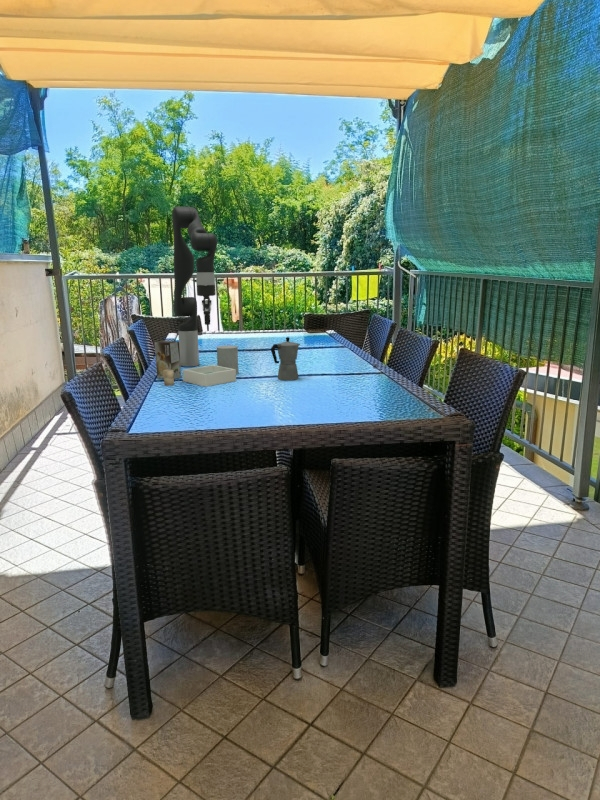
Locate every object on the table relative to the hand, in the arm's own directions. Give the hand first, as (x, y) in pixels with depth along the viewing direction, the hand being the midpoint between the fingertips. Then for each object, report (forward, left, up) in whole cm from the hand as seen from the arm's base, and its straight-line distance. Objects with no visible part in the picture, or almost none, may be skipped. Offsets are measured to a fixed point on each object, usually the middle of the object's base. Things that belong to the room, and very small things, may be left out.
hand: (207, 323), depth 229 cm
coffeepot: (+20, +26, -25) cm, 41 cm away
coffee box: (-19, -8, -25) cm, 32 cm away
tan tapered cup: (-6, -16, -24) cm, 30 cm away
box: (0, 0, -24) cm, 24 cm away
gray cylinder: (-8, +16, -25) cm, 30 cm away
